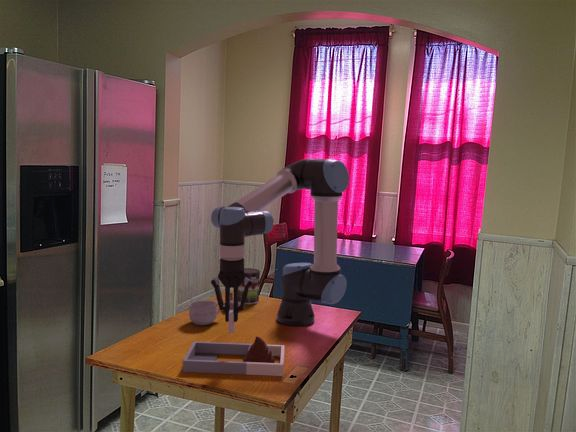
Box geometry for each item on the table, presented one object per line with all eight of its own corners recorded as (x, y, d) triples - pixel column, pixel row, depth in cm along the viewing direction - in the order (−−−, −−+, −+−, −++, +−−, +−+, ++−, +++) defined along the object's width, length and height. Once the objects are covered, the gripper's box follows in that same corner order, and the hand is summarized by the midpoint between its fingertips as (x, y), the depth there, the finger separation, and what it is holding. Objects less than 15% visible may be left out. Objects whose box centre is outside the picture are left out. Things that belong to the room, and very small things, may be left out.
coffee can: (263, 302, 228) (264, 271, 226) (242, 305, 223) (243, 274, 221) (252, 297, 237) (253, 267, 235) (232, 299, 231) (232, 269, 230)
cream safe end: (246, 374, 153) (246, 363, 152) (250, 354, 169) (251, 343, 168) (282, 376, 153) (283, 364, 152) (284, 355, 169) (284, 345, 168)
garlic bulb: (219, 310, 215) (219, 291, 214) (233, 307, 220) (233, 289, 219) (230, 314, 210) (230, 295, 209) (244, 311, 215) (244, 292, 214)
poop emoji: (245, 371, 155) (246, 342, 154) (240, 360, 163) (241, 332, 162) (277, 369, 158) (278, 340, 157) (270, 358, 166) (271, 330, 165)
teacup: (191, 328, 191) (192, 308, 190) (185, 320, 201) (185, 300, 200) (227, 325, 196) (228, 305, 196) (219, 316, 206) (220, 297, 205)
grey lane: (182, 371, 153) (182, 360, 153) (193, 351, 169) (193, 341, 169) (246, 374, 153) (246, 363, 152) (250, 354, 169) (251, 343, 168)
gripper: (254, 255, 161) (253, 327, 164) (212, 254, 161) (212, 326, 164) (252, 260, 153) (251, 336, 156) (208, 259, 153) (208, 335, 156)
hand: (231, 331), depth 160 cm, fingers closed
